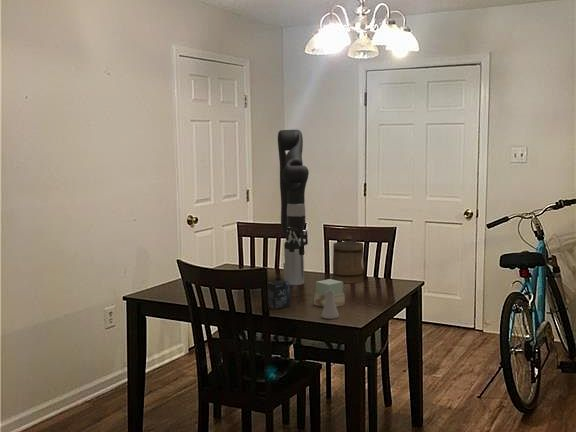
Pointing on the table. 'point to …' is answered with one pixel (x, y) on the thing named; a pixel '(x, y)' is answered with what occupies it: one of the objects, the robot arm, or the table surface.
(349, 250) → the wooden container
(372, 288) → the table surface
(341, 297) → the tower base
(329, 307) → the flask
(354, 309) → the table surface
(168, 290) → the table surface
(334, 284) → the tower top
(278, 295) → the box
